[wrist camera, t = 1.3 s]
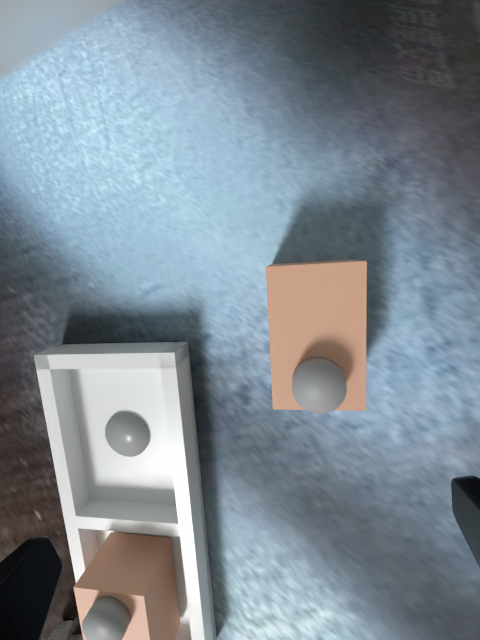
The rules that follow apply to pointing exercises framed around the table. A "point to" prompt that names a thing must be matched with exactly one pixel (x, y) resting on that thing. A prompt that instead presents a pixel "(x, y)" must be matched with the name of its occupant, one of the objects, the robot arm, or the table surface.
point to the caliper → (63, 632)
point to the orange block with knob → (129, 590)
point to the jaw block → (318, 335)
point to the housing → (130, 458)
